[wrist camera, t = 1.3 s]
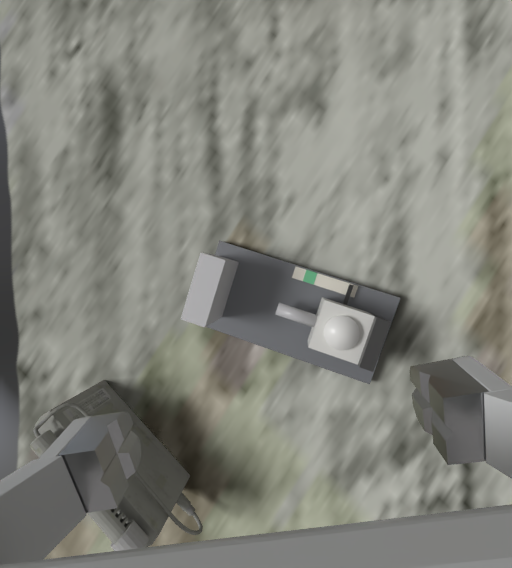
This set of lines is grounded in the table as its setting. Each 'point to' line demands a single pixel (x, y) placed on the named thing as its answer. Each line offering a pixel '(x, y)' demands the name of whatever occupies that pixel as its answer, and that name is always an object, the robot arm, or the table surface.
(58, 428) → the geiger counter
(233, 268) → the stand
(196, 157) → the table surface
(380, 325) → the white domed block
